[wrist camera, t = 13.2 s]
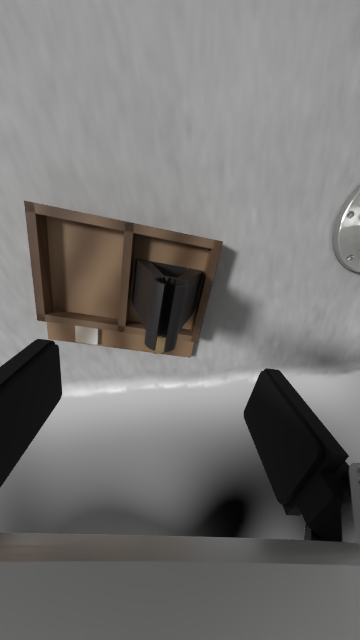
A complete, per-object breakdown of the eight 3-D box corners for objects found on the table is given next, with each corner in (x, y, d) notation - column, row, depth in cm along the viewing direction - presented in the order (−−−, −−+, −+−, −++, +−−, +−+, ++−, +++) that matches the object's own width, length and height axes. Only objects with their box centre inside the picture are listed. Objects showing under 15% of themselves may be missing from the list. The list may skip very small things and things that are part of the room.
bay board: (217, 241, 26) (222, 241, 23) (189, 354, 32) (191, 365, 30) (41, 204, 23) (24, 200, 20) (52, 335, 30) (40, 345, 27)
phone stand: (203, 270, 26) (227, 295, 15) (193, 311, 28) (208, 358, 17) (136, 257, 25) (110, 274, 14) (132, 301, 27) (106, 344, 16)
